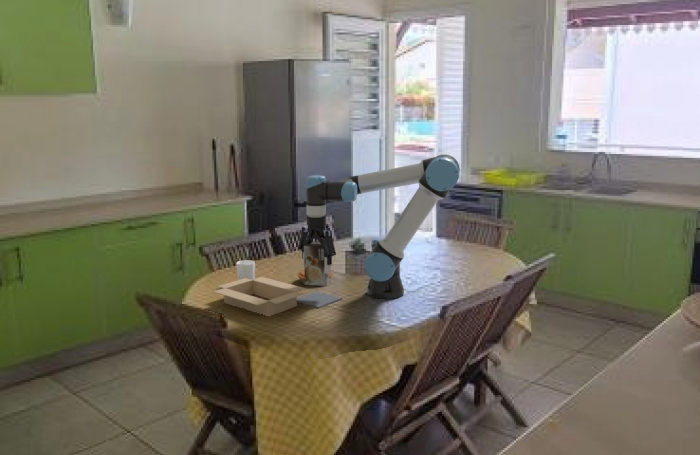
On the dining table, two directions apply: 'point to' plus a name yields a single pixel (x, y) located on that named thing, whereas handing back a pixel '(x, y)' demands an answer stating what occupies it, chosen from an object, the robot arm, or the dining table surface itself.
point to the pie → (302, 276)
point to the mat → (318, 299)
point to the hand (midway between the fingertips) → (316, 270)
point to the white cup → (246, 269)
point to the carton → (277, 291)
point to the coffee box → (315, 264)
